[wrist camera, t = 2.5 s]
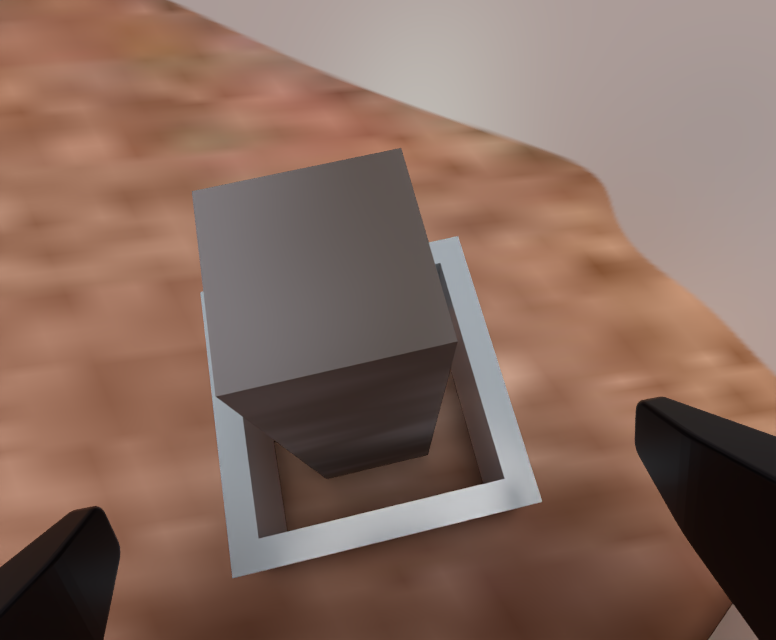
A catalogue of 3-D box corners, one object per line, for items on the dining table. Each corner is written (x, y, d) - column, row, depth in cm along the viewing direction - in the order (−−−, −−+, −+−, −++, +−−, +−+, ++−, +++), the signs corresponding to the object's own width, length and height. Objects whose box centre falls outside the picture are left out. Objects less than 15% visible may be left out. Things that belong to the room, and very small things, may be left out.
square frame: (267, 570, 18) (232, 578, 14) (236, 335, 21) (200, 292, 17) (514, 509, 19) (542, 501, 15) (449, 288, 22) (458, 236, 18)
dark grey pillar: (326, 479, 19) (215, 396, 8) (309, 380, 20) (192, 191, 9) (427, 454, 19) (457, 341, 8) (403, 359, 21) (400, 148, 9)
